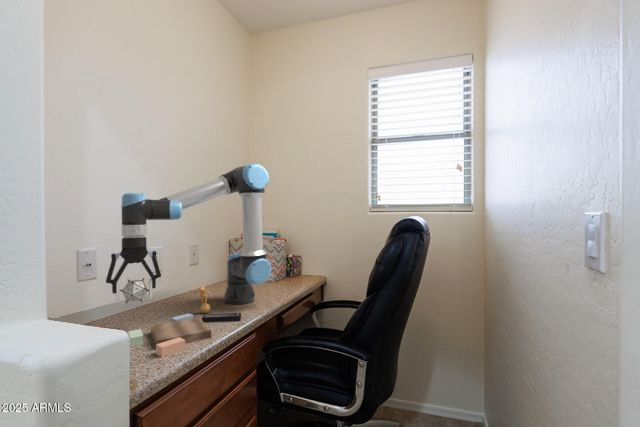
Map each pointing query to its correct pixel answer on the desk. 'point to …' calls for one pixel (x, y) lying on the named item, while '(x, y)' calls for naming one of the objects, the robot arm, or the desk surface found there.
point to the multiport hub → (222, 317)
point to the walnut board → (181, 331)
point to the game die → (134, 290)
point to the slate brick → (182, 317)
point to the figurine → (205, 307)
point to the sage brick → (135, 337)
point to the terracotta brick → (170, 347)
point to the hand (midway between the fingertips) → (134, 299)
